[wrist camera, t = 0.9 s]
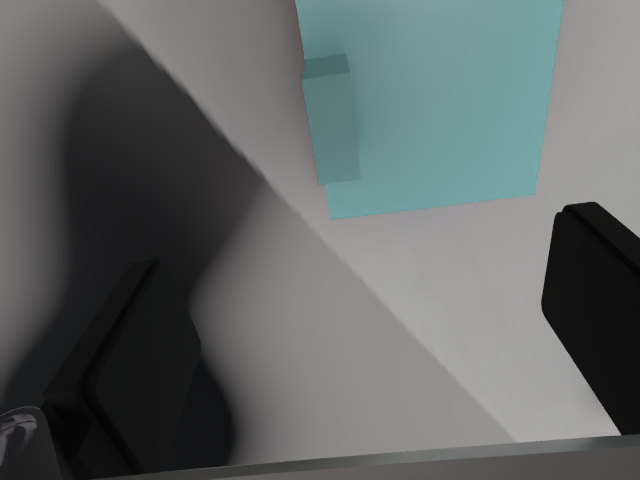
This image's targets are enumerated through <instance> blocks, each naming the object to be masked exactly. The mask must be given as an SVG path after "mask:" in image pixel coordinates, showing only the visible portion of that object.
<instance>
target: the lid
mask: <svg viewBox="0 0 640 480" xmlns="http://www.w3.org/2000/svg"><path fill="white" fill-rule="evenodd" d="M295 2H296V8H297V15H298V21H299V27H300V34H301V40H302V46H303V52H304V59H305V61H304V67H303V72H302V77H301V83H302V89H303V95H304V101H305V107H306V113H307V118H308V124H309V130H310V136H311V142H312V148H313V154H314V160H315V166H316V172H317V178H318V184H319V185H322V184H325V191H326V197H327V203H328V210H329V216H330V220H336V219H344V218H352V217H360V216H368V215H376V214H384V213H392V212H400V211H408V210H416V209H425V208H433V207H441V206H449V205H457V204H465V203H473V202H481V201H489V200H497V199H505V198H513V197H521V196H529V195H535V189H536V182H537V175H538V169H539V162H540V155H541V149H542V142H543V135H544V129H545V122H546V115H547V109H548V102H549V95H550V89H551V82H552V75H553V69H554V62H555V55H556V49H557V42H558V35H559V28H560V22H561V15H562V8H563V2H564V0H295Z"/></svg>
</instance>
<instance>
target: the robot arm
mask: <svg viewBox="0 0 640 480" xmlns="http://www.w3.org/2000/svg"><path fill="white" fill-rule="evenodd" d="M541 306H542V311H543V314H544V316H545V318H546V319H547V321H548V323H549V324H550V326H551V327H552V329H553V330H554V332H555V333H556V335H557V336H558V338H559V339H560V341H561V343H562V344H563V346H564V347H565V349H566V350H567V352H568V353H569V355H570V356H571V358H572V359H573V361H574V363H575V364H576V366H577V367H578V369H579V370H580V372H581V373H582V375H583V376H584V378H585V379H586V381H587V383H588V384H589V386H590V387H591V389H592V390H593V392H594V393H595V395H596V396H597V398H598V399H599V401H600V403H601V404H602V406H603V407H604V409H605V410H606V412H607V413H608V415H609V416H610V418H611V419H612V421H613V423H614V424H615V426H616V427H617V429H618V430H619V432H620V433H621V435H620V436H603V437H589V438H576V439H563V440H549V441H536V442H523V443H509V444H496V445H483V446H470V447H457V448H445V449H432V450H419V451H406V452H394V453H381V454H370V455H358V456H346V457H334V458H320V459H308V460H297V461H284V462H272V463H262V464H249V465H238V466H227V467H215V468H203V469H192V470H180V471H169V472H161V470H162V467H163V464H164V461H165V458H166V455H167V452H168V449H169V446H170V443H171V440H172V437H173V434H174V431H175V428H176V425H177V422H178V419H179V416H180V413H181V410H182V407H183V404H184V400H185V398H186V395H187V391H188V389H189V386H190V382H191V380H192V376H193V373H194V370H195V367H196V364H197V361H198V358H199V355H200V351H201V343H200V339H199V336H198V333H197V331H196V329H195V326H194V324H193V322H192V319H191V317H190V315H189V312H188V310H187V307H186V305H185V303H184V300H183V298H182V296H181V293H180V291H179V288H178V286H177V284H176V282H175V279H174V277H173V274H172V272H171V269H170V267H169V265H168V264H167V263H165V262H163V263H162V262H161V260H160V259H158V258H148V259H141V260H135V261H132V262H131V263H130V265H129V266H128V268H127V269H126V271H125V272H124V274H123V275H122V277H121V278H120V280H119V281H118V283H117V284H116V286H115V287H114V288H113V290H112V292H111V293H110V294H109V296H108V297H107V299H106V300H105V302H104V303H103V305H102V306H101V308H100V309H99V311H98V312H97V314H96V315H95V317H94V318H93V319H92V321H91V322H90V324H89V326H88V327H87V328H86V330H85V331H84V333H83V334H82V336H81V337H80V339H79V340H78V342H77V343H76V345H75V346H74V348H73V349H72V350H71V352H70V353H69V355H68V356H67V358H66V359H65V361H64V362H63V364H62V366H61V367H60V368H59V370H58V371H57V373H56V374H55V375H54V377H53V378H52V380H51V381H50V383H49V384H48V386H47V387H46V389H45V390H44V392H43V393H42V395H43V397H44V398H45V399H46V400H45V402H44V403H43V405H42V407H41V408H40V409H38V408H35V407H22V408H19V409H15V410H12V411H10V412H7V413H5V414H3V415H1V416H0V480H640V238H639V237H638V236H636V235H635V234H634V233H633V232H632V231H630V230H629V229H628V228H627V227H626V226H624V225H623V224H622V223H621V222H620V221H618V220H617V219H616V218H615V217H613V216H612V215H611V214H610V213H609V212H607V211H606V210H605V209H604V208H603V207H601V206H600V205H599V204H598V203H596V202H586V203H578V204H571V205H566V206H565V207H564V208H563V210H562V212H558V213H557V214H556V215H555V219H554V224H553V231H552V237H551V243H550V250H549V256H548V262H547V269H546V275H545V281H544V288H543V294H542V300H541Z"/></svg>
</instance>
